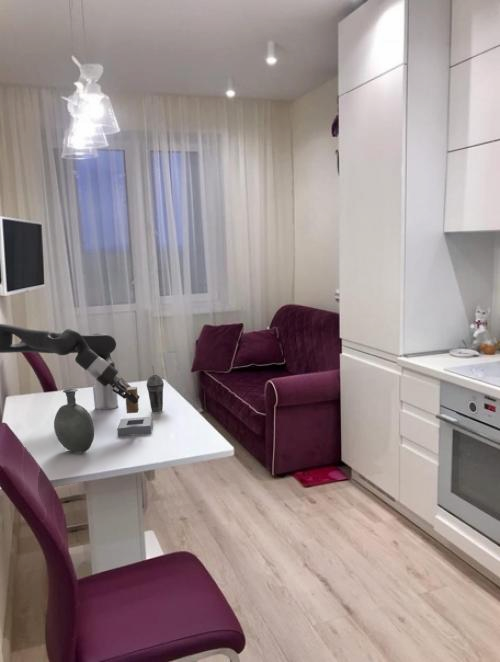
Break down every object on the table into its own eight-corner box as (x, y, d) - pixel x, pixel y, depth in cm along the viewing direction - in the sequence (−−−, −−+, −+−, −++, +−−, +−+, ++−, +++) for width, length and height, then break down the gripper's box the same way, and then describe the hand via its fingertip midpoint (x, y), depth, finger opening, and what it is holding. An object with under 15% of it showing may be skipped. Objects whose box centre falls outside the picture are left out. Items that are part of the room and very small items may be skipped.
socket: (117, 436, 193) (117, 428, 193) (121, 426, 205) (121, 418, 204) (151, 433, 194) (150, 425, 194) (152, 423, 206) (152, 416, 206)
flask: (88, 442, 188) (82, 382, 185) (99, 456, 174) (93, 391, 171) (54, 449, 183) (47, 387, 180) (63, 464, 168) (56, 397, 165)
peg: (126, 413, 196) (125, 389, 195) (127, 410, 200) (126, 387, 199) (137, 412, 196) (136, 389, 195) (138, 409, 200) (137, 386, 199)
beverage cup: (167, 408, 227) (164, 363, 224) (163, 413, 220) (159, 366, 217) (151, 408, 228) (147, 363, 225) (146, 413, 221) (142, 367, 218)
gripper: (98, 374, 202) (132, 403, 205) (91, 382, 188) (128, 413, 191) (111, 360, 202) (145, 389, 205) (105, 367, 188) (142, 398, 191)
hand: (137, 400), depth 198 cm, fingers closed on peg, 4 cm apart
